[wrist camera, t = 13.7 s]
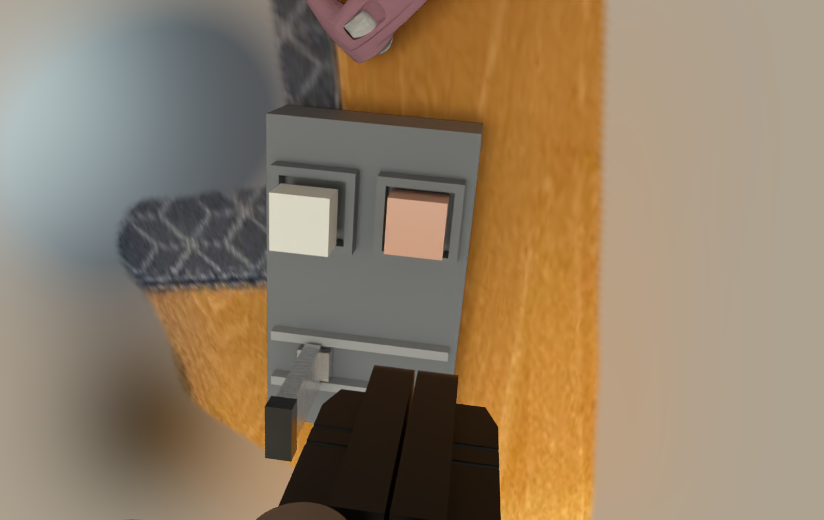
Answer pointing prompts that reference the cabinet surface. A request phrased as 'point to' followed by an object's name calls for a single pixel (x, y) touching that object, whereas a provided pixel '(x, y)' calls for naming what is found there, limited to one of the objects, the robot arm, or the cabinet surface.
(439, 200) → the terracotta button
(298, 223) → the cream button
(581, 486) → the cabinet surface
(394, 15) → the video game controller
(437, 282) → the control panel
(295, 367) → the slide paddle
